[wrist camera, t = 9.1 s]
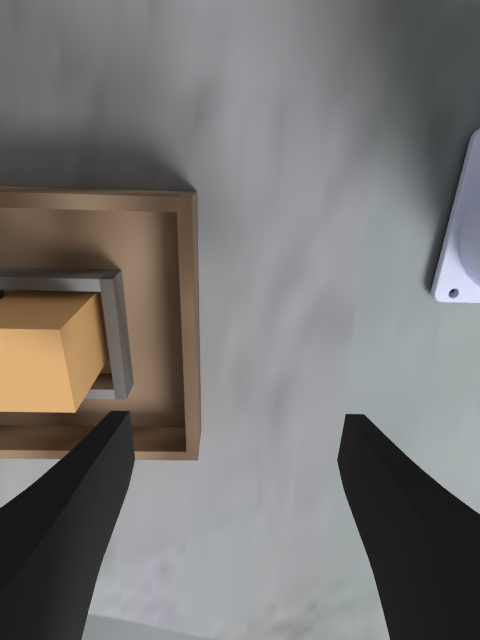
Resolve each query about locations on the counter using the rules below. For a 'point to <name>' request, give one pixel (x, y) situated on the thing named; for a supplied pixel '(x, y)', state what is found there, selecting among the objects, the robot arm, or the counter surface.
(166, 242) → the box
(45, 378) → the plug
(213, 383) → the counter surface
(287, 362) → the counter surface
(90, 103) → the counter surface
